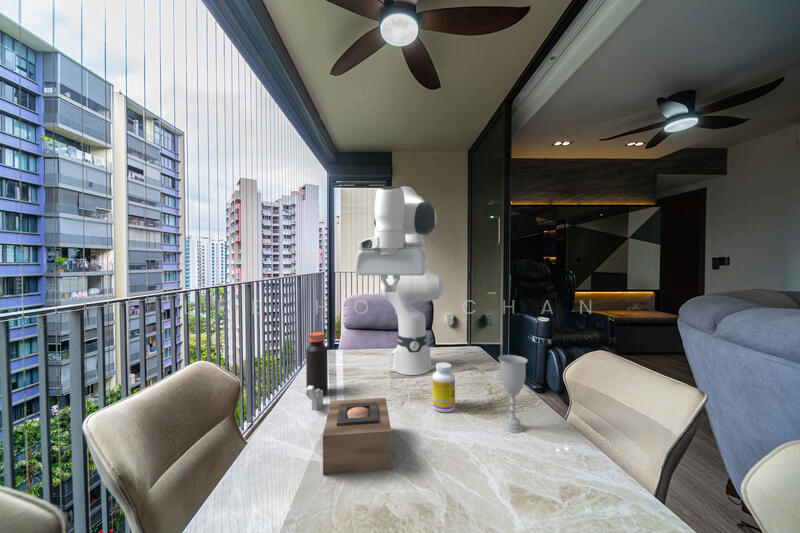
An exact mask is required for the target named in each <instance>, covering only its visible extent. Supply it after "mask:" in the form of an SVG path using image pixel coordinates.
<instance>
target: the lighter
mask: <svg viewBox="0 0 800 533" xmlns="http://www.w3.org/2000/svg"><path fill="white" fill-rule="evenodd" d="M305 390H306V395H307V394H308V396H307V397H308V399H309V400H311V411H313V412H314V411H315V412H317V411H318V410H319V409H320V408H321V407H322V406H324V396H323V390H320V389H316V390H315V389H314V386H308V387H307V389H305Z"/></svg>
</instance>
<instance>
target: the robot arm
mask: <svg viewBox="0 0 800 533" xmlns="http://www.w3.org/2000/svg"><path fill="white" fill-rule="evenodd" d="M375 193H376V194H375V198H374V199H375V200H374V211H373V218H374V220H373V225H374V226H375V229H374V236H372V237H369V238H366V239H364V240H361V241H359V242H358V244H357V247H358V249H360V250H359V251H358V252H357V253H356V257H355V268H354V269H355V274H356V276H380V280H381V281H380V285H379V289H380V291H379V292H380V293H381V296H382V297H383V298H384V299H385V300H386V301H387V302H388V303H390V304H391V306H392V308H394V310H395V312H396V318H397V323H398V324H397V326H398V330H397V331H398V334H397V337H396V341H397V342H396V343H397V345H396V347H395V349H394V350H391V356H392V358H391V361H390V365H389V368H388V371H389V372H395V373H397V374H400V375H404V376H405V375H407V376H420V375H424V374H427V373H429V372H430V371H431V370H436V365H434V364H433V363H432V360H431V359H432V357H431V356H432V354H431V348H430V347H429V346H428V345H427V344H428V342H427V341H428V337H427V334H426V316H425V314H424V312H422V311H420V310H419V309H417V308H414V307H413V306H412V305H411V302H414V301H415V302H420V301H421V302H422V301H423V302H428V301H435V300H438V299H439V300H440V298H441V297H442V296H443V292H444V288H445V287H444V286H445V285H444V281H443V280H442V278H441V277H440V275H437V274H436V273H434V272H433V271H432V270H431V268H430V267H429V266H428V264H427V262H426V257H427V247H426V245H425V241H424V240H425V239H424V236H428V235H430V234H431V233H433V231H434V230H435V229H436V225H437V212H436V210H435V207H434V206H433V204H432V202H431V201H429V200H427V199H426V198H425V197H422V196H420V195H418V194H417V193H416V191H415V190H414V189H413V187H411V186H406V185H405V186H396V185H395V186H393V185H392V186H380V187H379V188H377V189H376V192H375Z"/></svg>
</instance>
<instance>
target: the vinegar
mask: <svg viewBox="0 0 800 533" xmlns="http://www.w3.org/2000/svg"><path fill="white" fill-rule="evenodd" d="M308 340H309V346H307V348H306V351H305V354H306V357H305V358H306V359H305V361H306V364H305V365H306V366H305V367H306V368H305V371H306V372H305V374H306V377H305V378H306V382H305V384H306V385H305V386H306V389H307V387H308V386H314V389H315V390H316V389H320V390H323V397H325V396H326V395H327V394H328V391H329V389H328V388H329V387H328V385H329V384H328V382H329V381H328V380H329V379H328V378H329V376H328V374H329V372H328V366H329V365H328V362H329V361H328V359H329V358H328V347H327V346H326V345H325V344H324V343H325V340H326V339H325V332H323V331H322V332H321V331H317V332H311V333H309V334H308ZM306 389H305V390H306ZM306 396H307V397H308V394H307V393H306Z"/></svg>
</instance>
